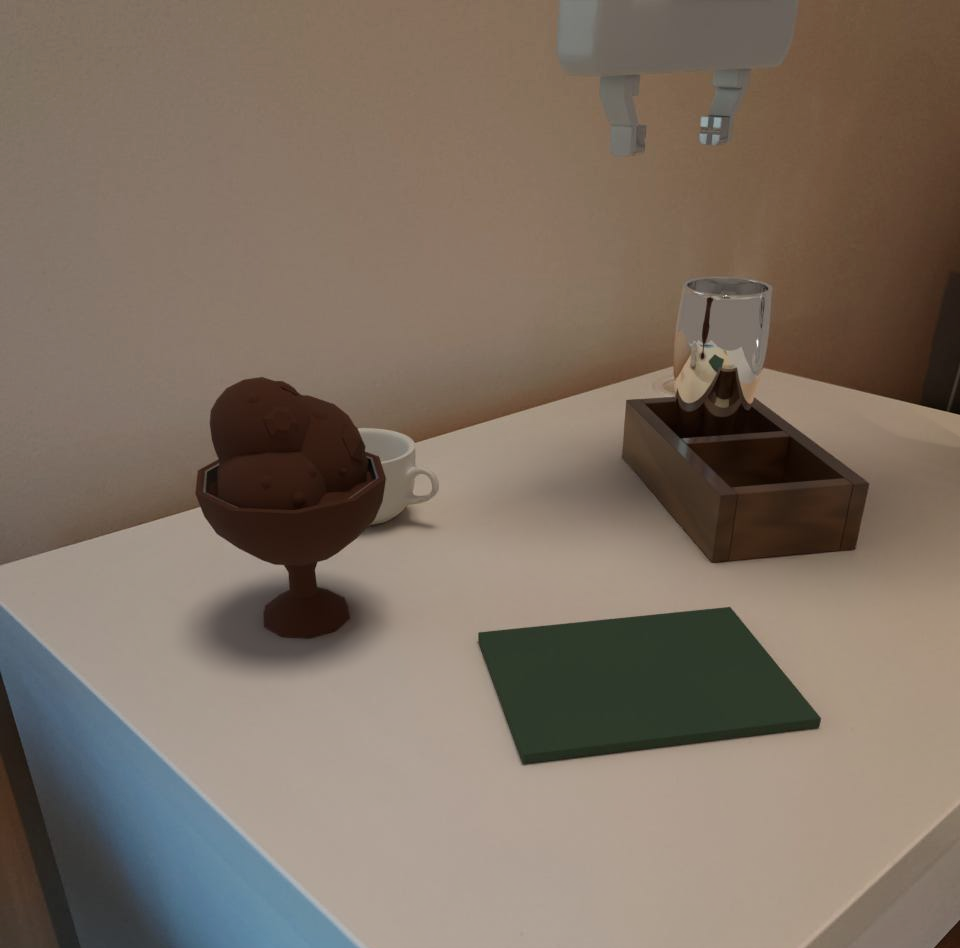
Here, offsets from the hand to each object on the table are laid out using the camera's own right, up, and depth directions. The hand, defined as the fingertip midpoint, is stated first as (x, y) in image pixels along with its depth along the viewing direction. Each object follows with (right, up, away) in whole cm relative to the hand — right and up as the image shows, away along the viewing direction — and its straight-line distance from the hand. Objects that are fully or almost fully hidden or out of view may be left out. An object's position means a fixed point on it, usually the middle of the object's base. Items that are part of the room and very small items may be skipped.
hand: (672, 149), depth 68 cm
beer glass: (+5, -20, +14) cm, 25 cm away
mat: (-4, -36, -12) cm, 38 cm away
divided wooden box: (+6, -22, +10) cm, 25 cm away
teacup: (-21, -24, +8) cm, 33 cm away
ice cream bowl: (-24, -32, -5) cm, 40 cm away
